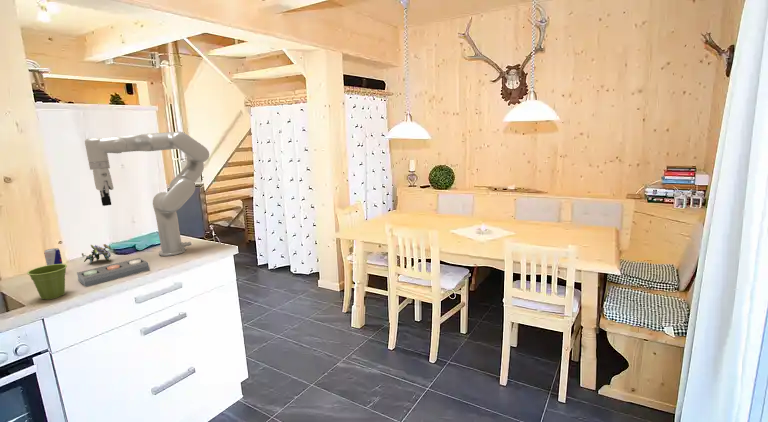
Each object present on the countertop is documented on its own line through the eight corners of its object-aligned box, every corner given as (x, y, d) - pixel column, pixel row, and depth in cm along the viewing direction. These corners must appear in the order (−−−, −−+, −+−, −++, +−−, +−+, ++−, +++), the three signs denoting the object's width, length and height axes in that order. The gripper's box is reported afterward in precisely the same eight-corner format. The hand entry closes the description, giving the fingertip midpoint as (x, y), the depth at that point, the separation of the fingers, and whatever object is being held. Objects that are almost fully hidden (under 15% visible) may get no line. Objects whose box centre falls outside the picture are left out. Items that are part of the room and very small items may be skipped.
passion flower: (110, 271, 197) (116, 254, 192) (84, 274, 189) (89, 256, 184) (104, 255, 203) (110, 238, 198) (78, 257, 194) (83, 239, 189)
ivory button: (139, 263, 184) (138, 258, 184) (143, 264, 181) (142, 260, 181) (128, 265, 181) (127, 261, 180) (131, 267, 178) (130, 263, 177)
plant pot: (40, 305, 146) (34, 276, 144) (28, 299, 152) (22, 271, 150) (78, 293, 156) (72, 266, 154) (65, 288, 162) (59, 261, 160)
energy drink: (67, 273, 180) (62, 248, 177) (54, 278, 175) (48, 252, 173) (59, 272, 182) (54, 247, 179) (46, 277, 177) (40, 251, 174)
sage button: (96, 273, 172) (95, 269, 171) (98, 276, 169) (98, 271, 168) (83, 277, 168) (82, 272, 168) (85, 279, 165) (85, 274, 165)
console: (140, 264, 188) (139, 257, 187) (149, 270, 180) (148, 262, 179) (78, 280, 170) (76, 272, 170) (85, 286, 163) (83, 278, 162)
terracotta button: (118, 268, 178) (117, 264, 178) (121, 270, 175) (120, 266, 175) (106, 271, 175) (105, 266, 174) (109, 273, 172) (108, 269, 171)
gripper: (114, 165, 178) (121, 205, 182) (104, 164, 188) (111, 202, 191) (94, 167, 172) (102, 208, 176) (85, 166, 182) (93, 205, 186)
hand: (107, 205), depth 184 cm, fingers closed
